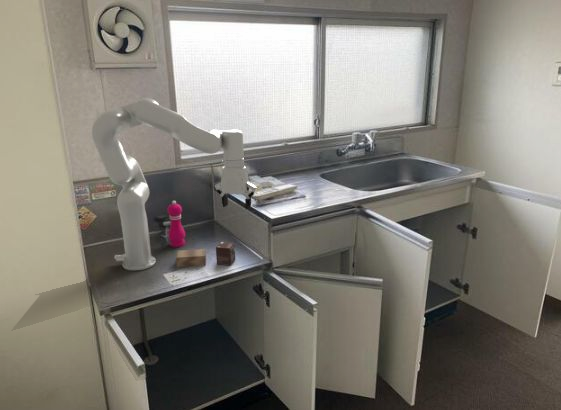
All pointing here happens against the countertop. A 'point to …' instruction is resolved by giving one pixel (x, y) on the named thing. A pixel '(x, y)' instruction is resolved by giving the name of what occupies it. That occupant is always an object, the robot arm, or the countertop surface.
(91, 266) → the countertop surface
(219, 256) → the box
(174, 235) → the pepper mill
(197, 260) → the light brown rectangular block
